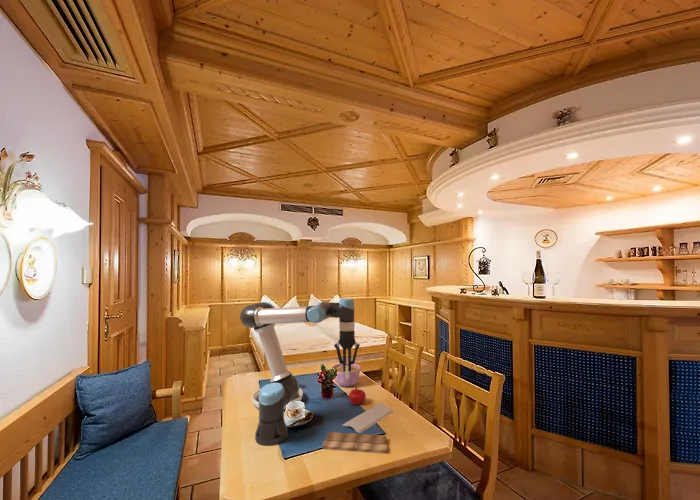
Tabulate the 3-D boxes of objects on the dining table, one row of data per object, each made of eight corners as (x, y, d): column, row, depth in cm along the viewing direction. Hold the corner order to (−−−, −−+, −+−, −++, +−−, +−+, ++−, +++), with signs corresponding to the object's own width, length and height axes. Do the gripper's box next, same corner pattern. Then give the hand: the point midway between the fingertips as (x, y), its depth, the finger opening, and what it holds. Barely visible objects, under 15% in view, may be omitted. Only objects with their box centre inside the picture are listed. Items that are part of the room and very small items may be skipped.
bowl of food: (366, 382, 221) (365, 365, 221) (351, 392, 203) (351, 374, 204) (342, 377, 231) (342, 361, 231) (326, 386, 214) (326, 369, 214)
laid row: (322, 448, 142) (322, 446, 142) (324, 442, 146) (324, 440, 146) (387, 453, 138) (387, 450, 138) (387, 447, 142) (387, 444, 142)
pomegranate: (365, 406, 184) (365, 390, 184) (348, 406, 184) (348, 390, 184) (365, 399, 193) (365, 383, 194) (349, 398, 194) (349, 383, 194)
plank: (325, 442, 147) (325, 439, 147) (328, 434, 153) (328, 431, 152) (386, 446, 143) (386, 443, 143) (386, 437, 149) (386, 435, 149)
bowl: (240, 408, 182) (240, 395, 183) (271, 389, 210) (271, 377, 210) (285, 417, 171) (285, 402, 172) (311, 395, 199) (311, 383, 200)
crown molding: (360, 434, 154) (360, 426, 154) (341, 426, 162) (341, 419, 162) (392, 413, 176) (392, 406, 176) (375, 406, 184) (374, 400, 184)
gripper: (332, 331, 154) (333, 380, 153) (359, 331, 153) (359, 381, 152) (335, 328, 162) (335, 374, 161) (360, 328, 160) (361, 375, 159)
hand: (347, 377), depth 156 cm, fingers closed
